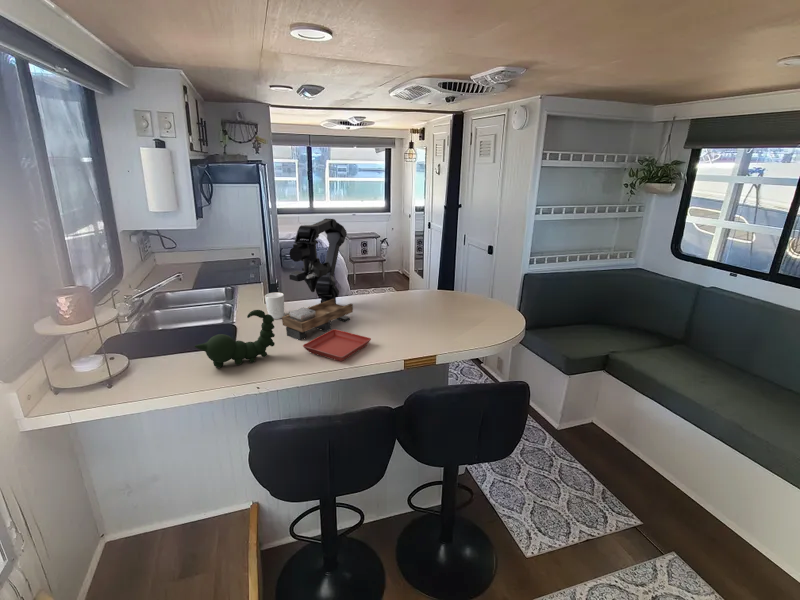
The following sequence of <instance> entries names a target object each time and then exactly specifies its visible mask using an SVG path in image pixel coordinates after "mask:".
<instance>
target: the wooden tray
mask: <svg viewBox="0 0 800 600" xmlns="http://www.w3.org/2000/svg"><path fill="white" fill-rule="evenodd" d="M307 308H308V309H311V310H314V311H315V315H316V317H315V318H312V319H310V320H307V321H304V322H300V321H297V320H294V319H291V318H290V314H287V315H284V316H283V317H282V318H281V319H282V320H281V322H282V326H284V327H289V328H292V329H295V330H297V331H300V332H305V331H306V332H307V331H309V330H312V329H316V328H315V327H317V326H320V325H322V324H324V323H332V321H334V320H337V318H339V317H342V316H347V315H349V314H351V313H353V312H354V306H353V304H352V303H349V304H346V305H341V304H337V303H336V304H335V300H334V299H331V300H328V301H325V302H322V303H321V302H320V303H318V304H317V303H316V304H314V305H311V306H308V307H307Z"/></svg>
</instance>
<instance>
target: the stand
mask: <svg viewBox="0 0 800 600" xmlns="http://www.w3.org/2000/svg"><path fill="white" fill-rule="evenodd" d="M336 320H337V321H341V322H343V323H346V322H348V321H350V320H351V317H350V316H347V315H344V316H342V317H339V318H337V319H336ZM331 323H332V322H331ZM331 323H324V324H322V325H320V326H317V327H315V328H314V329H317V328H318V329H317V330H320V329H321V330H320V331H323V332H328V331H331V330H332V325H331ZM285 327H286V326H285ZM285 329H286V336H287V337H290V338H292V339H295V340H297V339H298V340H297V341H302V339H303V340H305V339H307V331H305V332H300V331H297V330H295V329H292V328H289V327H286V328H285ZM327 330H328V331H327ZM304 338H305V339H304Z"/></svg>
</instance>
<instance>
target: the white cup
mask: <svg viewBox="0 0 800 600" xmlns="http://www.w3.org/2000/svg"><path fill="white" fill-rule="evenodd" d="M264 300H265V307H266V311H267V314H269V315H271V316H272V317H273V318H274V320H280V319H282V317H283V316H285V295H284V293H282V292H269V293H266V294H265V295H264Z"/></svg>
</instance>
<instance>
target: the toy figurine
mask: <svg viewBox="0 0 800 600" xmlns="http://www.w3.org/2000/svg"><path fill="white" fill-rule="evenodd" d="M246 316H247V319H249V318H252V317H258V318H260V319H262V322H261V330H260V332H259V335H258V338H257V340H255V341H246V342H245V341H243V340H235V339H234V338H233V337H231V336H230V335H229V334H228V335H227V334H225V333H219V334H218V333H217V334H215V335H213V336H212V337H210V338H209V339H208V340H207V341H206V342H204V343H198V344H195V345H194V348H196V349H197V350H198V349H199V350H201V351H203V352H204V353H205V354H206V356H207V358H208V359H209V360H211V361H212V363H213V366H214V368H215V367H216V368H219V367H220V368H222V367H223V366H224V363H226V362H229V361H230V360H232V361H234V364H235V365H237V366H238V365H242V364H243V362H244V361H243V360H248V361H249V363H250V364H252V363H255V362H256V358H258V356H261V357H262V358H266V357H267V356H268V352H267V348H268V347H269V346H270V347H274V346H275V342H274V339H272V338H275V335H276V334H275V333H274V332H273V329H275V325H274V323H273V322H274V321H275V319H274V318H273V317H272V316H271V315H269V314H268V313H267V314H266V313H265V311H264V310H262V309H253V310H251V311H249V313H248V314H247V315H246ZM220 368H219V369H220Z"/></svg>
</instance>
